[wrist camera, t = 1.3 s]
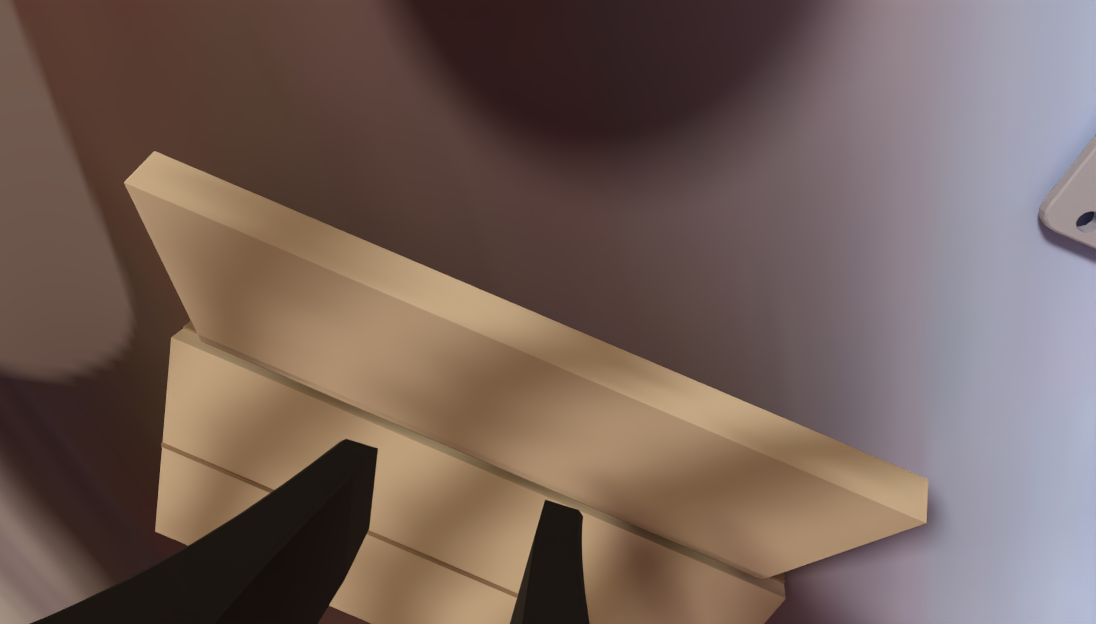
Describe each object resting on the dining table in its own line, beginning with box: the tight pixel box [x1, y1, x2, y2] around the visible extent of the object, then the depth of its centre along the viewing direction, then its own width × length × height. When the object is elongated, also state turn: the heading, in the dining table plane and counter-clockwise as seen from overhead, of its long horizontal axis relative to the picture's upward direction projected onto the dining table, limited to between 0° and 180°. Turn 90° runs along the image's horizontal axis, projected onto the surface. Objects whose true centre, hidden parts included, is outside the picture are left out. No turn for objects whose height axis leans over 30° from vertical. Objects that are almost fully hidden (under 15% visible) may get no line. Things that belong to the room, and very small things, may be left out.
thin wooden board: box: [155, 321, 786, 624], centre depth 26 cm, size 22×10×1 cm, turn 70°
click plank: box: [124, 151, 928, 580], centre depth 19 cm, size 20×8×1 cm, turn 70°
